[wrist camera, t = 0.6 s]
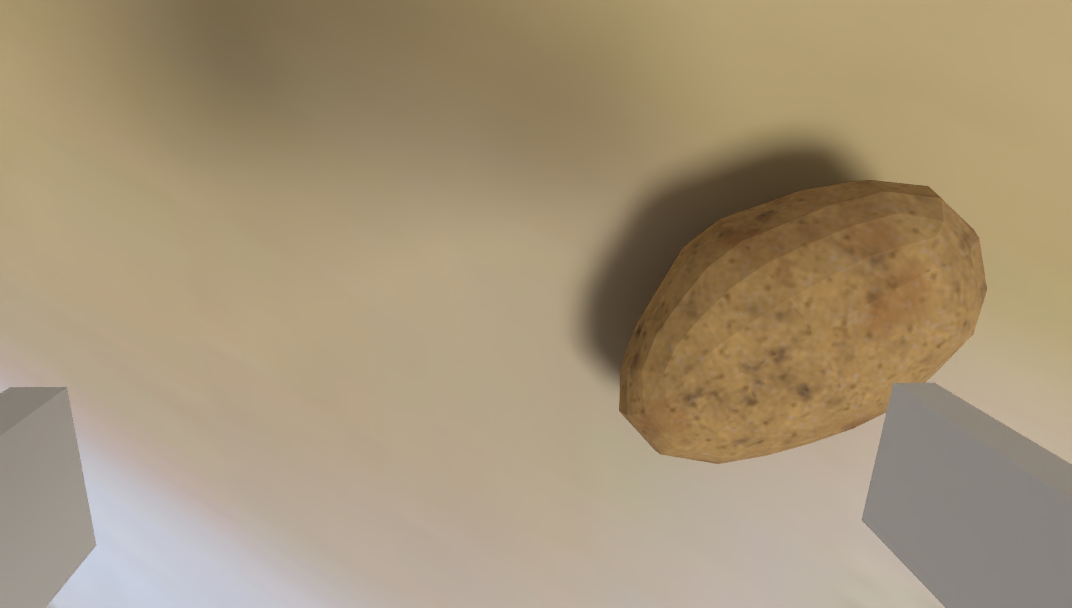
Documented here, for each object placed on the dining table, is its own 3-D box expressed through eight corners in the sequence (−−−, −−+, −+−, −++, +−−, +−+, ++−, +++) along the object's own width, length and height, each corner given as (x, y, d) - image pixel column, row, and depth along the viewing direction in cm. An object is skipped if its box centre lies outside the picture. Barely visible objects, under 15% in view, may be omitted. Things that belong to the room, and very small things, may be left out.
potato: (567, 298, 30) (554, 346, 22) (845, 121, 27) (941, 105, 19) (678, 463, 31) (703, 563, 24) (956, 311, 28) (1088, 368, 21)
